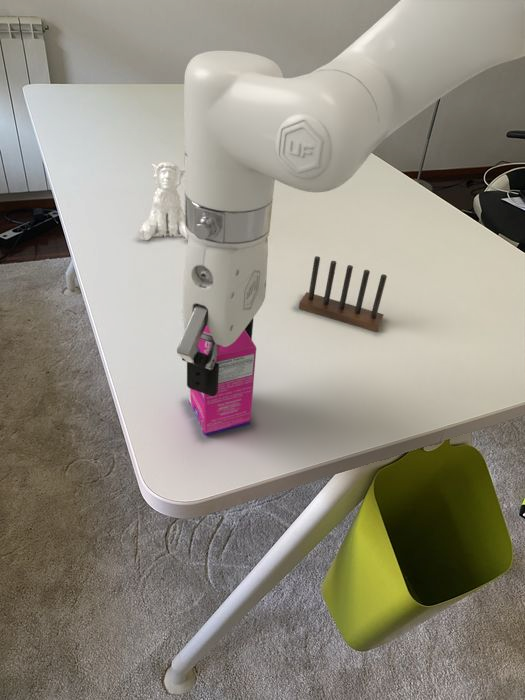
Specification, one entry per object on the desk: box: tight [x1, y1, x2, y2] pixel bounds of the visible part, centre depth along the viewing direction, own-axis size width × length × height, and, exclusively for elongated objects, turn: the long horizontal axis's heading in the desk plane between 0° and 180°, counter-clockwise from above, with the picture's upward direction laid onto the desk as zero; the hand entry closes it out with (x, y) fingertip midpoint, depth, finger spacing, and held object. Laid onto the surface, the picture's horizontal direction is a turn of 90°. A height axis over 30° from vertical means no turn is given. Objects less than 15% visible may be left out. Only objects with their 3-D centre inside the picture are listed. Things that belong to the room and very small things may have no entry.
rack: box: [298, 255, 388, 333], centre depth 79 cm, size 12×3×8 cm, turn 68°
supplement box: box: [187, 326, 257, 437], centre depth 60 cm, size 6×6×12 cm
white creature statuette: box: [138, 161, 189, 241], centre depth 94 cm, size 10×9×12 cm
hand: (220, 365), depth 59 cm, fingers closed on supplement box, 8 cm apart
